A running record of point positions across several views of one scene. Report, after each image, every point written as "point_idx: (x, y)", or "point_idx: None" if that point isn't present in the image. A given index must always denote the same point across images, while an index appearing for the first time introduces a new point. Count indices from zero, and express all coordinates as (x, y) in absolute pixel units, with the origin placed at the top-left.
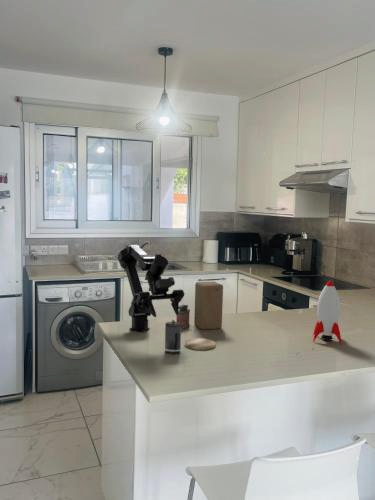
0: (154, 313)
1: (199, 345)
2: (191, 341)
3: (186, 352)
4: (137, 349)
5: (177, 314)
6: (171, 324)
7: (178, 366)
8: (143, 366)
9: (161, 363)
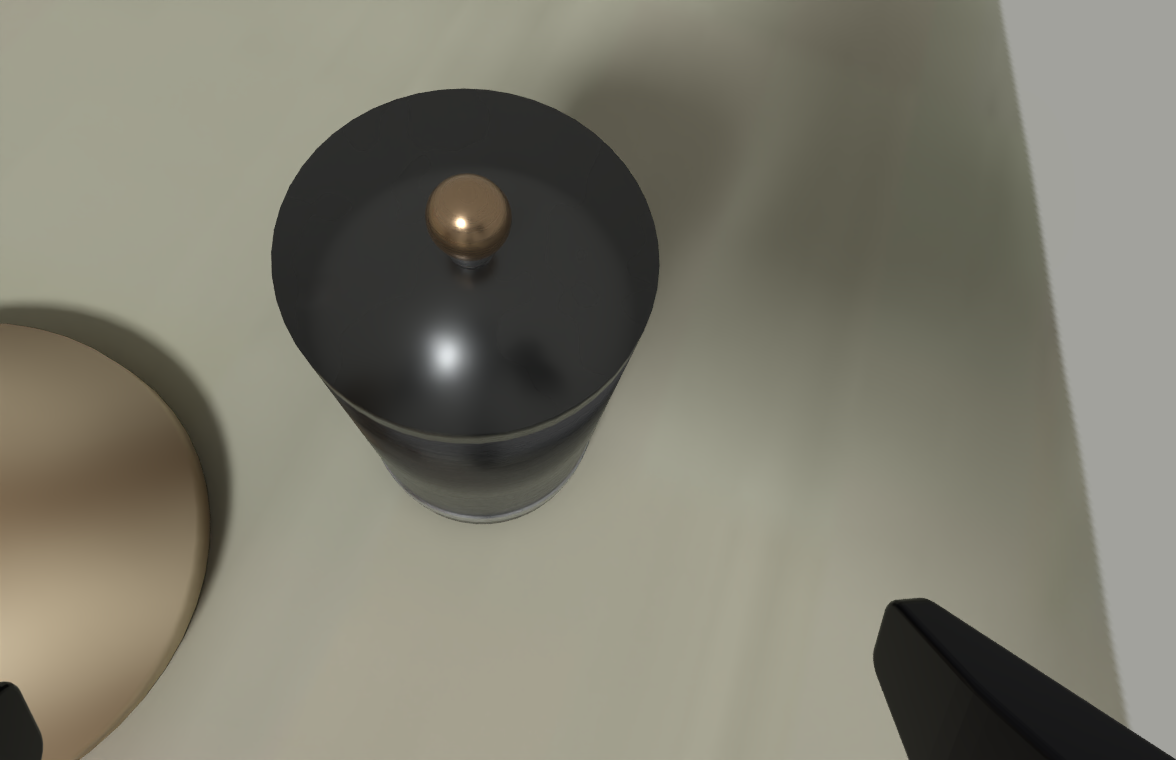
0: (996, 644)
1: (35, 431)
2: (17, 676)
3: None
4: None
5: (11, 703)
6: (537, 208)
7: (608, 10)
8: (917, 121)
9: (737, 128)
